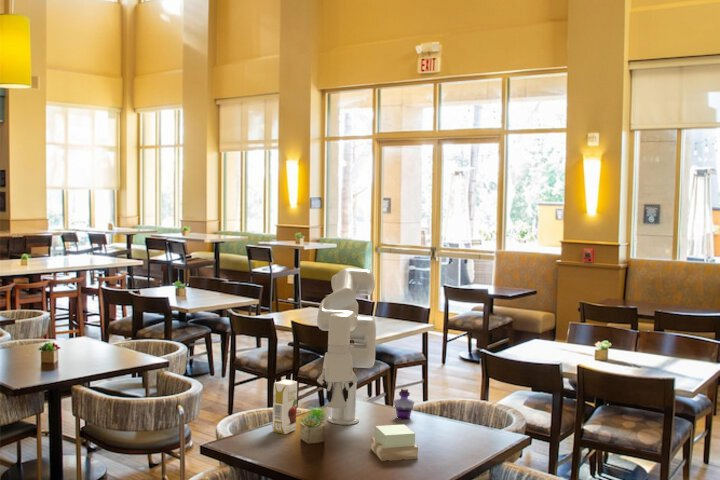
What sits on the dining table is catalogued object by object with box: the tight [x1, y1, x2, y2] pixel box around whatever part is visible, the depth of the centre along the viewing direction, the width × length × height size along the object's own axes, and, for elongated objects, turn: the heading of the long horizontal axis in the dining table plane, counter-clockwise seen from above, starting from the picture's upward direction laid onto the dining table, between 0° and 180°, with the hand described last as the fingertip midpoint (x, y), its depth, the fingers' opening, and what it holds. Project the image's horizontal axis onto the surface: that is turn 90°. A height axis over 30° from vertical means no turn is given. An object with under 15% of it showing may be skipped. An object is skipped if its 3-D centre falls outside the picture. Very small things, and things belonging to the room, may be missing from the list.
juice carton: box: [272, 378, 298, 435], centre depth 281 cm, size 8×9×19 cm
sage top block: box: [374, 423, 416, 448], centre depth 259 cm, size 11×11×4 cm
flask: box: [326, 382, 347, 409], centre depth 256 cm, size 7×7×10 cm
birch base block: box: [370, 437, 419, 462], centre depth 260 cm, size 13×13×4 cm
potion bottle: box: [393, 388, 415, 420], centre depth 306 cm, size 9×9×12 cm
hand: (336, 400), depth 256 cm, fingers closed on flask, 4 cm apart
